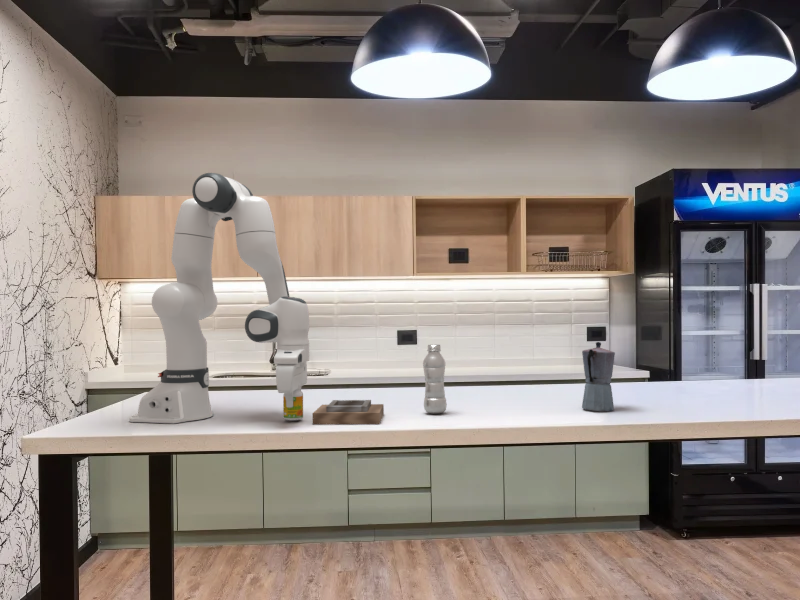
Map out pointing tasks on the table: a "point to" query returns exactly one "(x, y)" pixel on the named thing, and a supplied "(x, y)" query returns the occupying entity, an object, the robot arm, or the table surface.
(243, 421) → the table surface
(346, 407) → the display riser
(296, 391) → the supplement bottle
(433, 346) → the plastic bottle
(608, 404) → the moka pot
